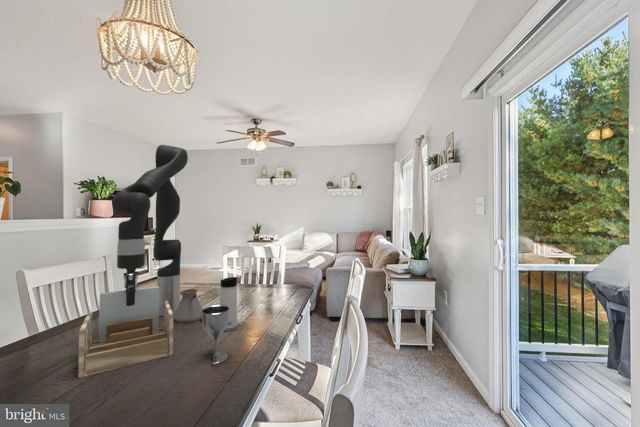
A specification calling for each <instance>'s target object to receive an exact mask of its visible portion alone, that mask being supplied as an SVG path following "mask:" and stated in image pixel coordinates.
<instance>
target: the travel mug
mask: <svg viewBox="0 0 640 427" xmlns="http://www.w3.org/2000/svg"><path fill="white" fill-rule="evenodd" d="M238 279H239V278H238V276H231V277H225V278H223V279H220V286H219V290H220V292H219V293H220V297H219V298H220V299H219V300H220V302H219V303H220V304H219V305H223V306H228V307H229V320H228V324H227V327H226V329H225V330H224V331H223V332H231V331H234V330H236V329H237V328H238Z"/></svg>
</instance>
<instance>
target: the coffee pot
mask: <svg viewBox="0 0 640 427" xmlns="http://www.w3.org/2000/svg"><path fill="white" fill-rule="evenodd" d="M197 293H198V289H196V288H192V289H191V288H189V289H184V290H180V296H182V297H181V298H180V304H179V306H178V308H177V310H176V313H175V314H174V315H173V321H175V322H176V323H179V324H188V323H194V322H197V321H200V320H202V310H203V309H204V308H203V307H202V305H201V303H200V301H199V298H200V296H199V295H198V294H197ZM197 296H198V297H197Z"/></svg>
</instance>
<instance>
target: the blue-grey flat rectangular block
mask: <svg viewBox="0 0 640 427" xmlns="http://www.w3.org/2000/svg"><path fill="white" fill-rule="evenodd" d="M135 290H136V292H135V304H134V305H133V306H126V293H125V291H126V289H124V290H118V291H117V290H116V291H110V292H109V291H108V292H107V291H106V292H100V293H99V303H98V304H99V309H98V310H99V311H98V312H99V314H98V319H99V322H98V340H99V343H104V342H106V325H107V324H111V323H117V322H123V321H129V320H135V319H141V318H147V317H152V318H153V321H152V333H155V332H159V328H160V326H159V320H160V318H159V317H160V316H159V286H157V285H156V286H151V287H141V288H135Z"/></svg>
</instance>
